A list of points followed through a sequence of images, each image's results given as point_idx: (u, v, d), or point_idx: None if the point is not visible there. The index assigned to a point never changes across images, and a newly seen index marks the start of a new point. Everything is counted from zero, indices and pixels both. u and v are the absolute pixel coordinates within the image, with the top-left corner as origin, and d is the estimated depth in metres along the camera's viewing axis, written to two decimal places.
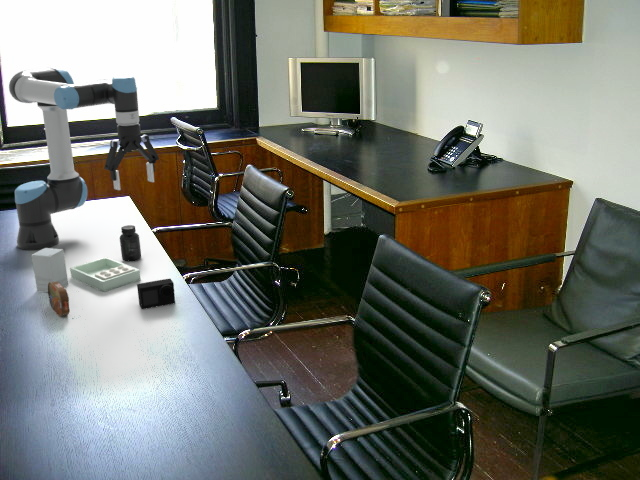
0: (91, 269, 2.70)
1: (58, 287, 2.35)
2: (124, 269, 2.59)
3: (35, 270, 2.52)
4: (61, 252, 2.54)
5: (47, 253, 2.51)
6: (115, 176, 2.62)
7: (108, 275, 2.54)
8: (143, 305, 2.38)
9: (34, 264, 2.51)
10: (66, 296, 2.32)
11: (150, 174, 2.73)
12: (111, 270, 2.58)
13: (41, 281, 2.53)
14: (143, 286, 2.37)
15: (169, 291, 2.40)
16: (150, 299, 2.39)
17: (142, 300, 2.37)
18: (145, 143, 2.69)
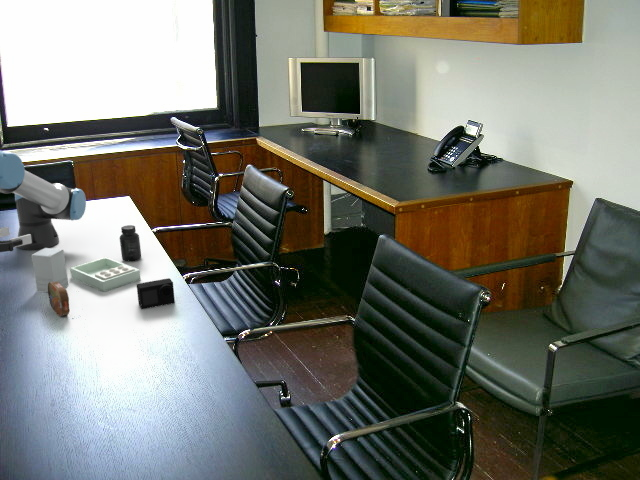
0: (91, 269, 2.70)
1: (58, 287, 2.35)
2: (124, 269, 2.59)
3: (35, 270, 2.52)
4: (61, 252, 2.54)
5: (47, 253, 2.51)
6: None
7: (108, 275, 2.54)
8: (143, 305, 2.38)
9: (34, 264, 2.51)
10: (66, 296, 2.32)
11: None
12: (111, 270, 2.58)
13: (41, 281, 2.53)
14: (143, 286, 2.37)
15: (169, 291, 2.40)
16: (150, 299, 2.39)
17: (142, 300, 2.37)
18: None
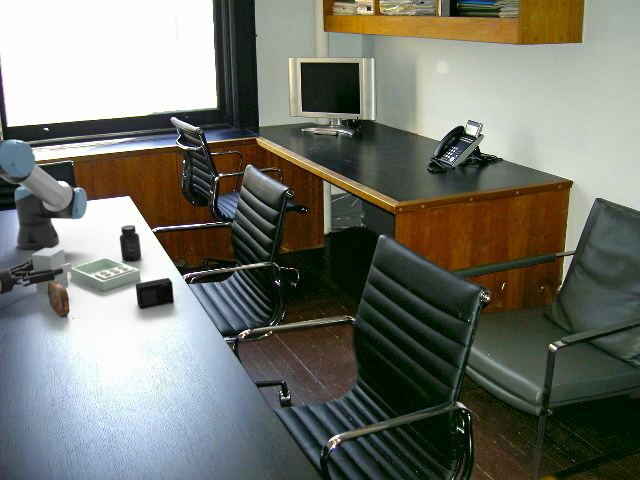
0: (91, 269, 2.70)
1: (58, 287, 2.35)
2: (124, 269, 2.59)
3: (35, 270, 2.52)
4: (61, 252, 2.54)
5: (47, 253, 2.51)
6: None
7: (108, 275, 2.54)
8: (142, 305, 2.38)
9: (34, 264, 2.51)
10: (66, 296, 2.32)
11: None
12: (111, 270, 2.58)
13: None
14: (142, 286, 2.38)
15: (168, 290, 2.41)
16: (149, 299, 2.39)
17: (141, 300, 2.38)
18: None
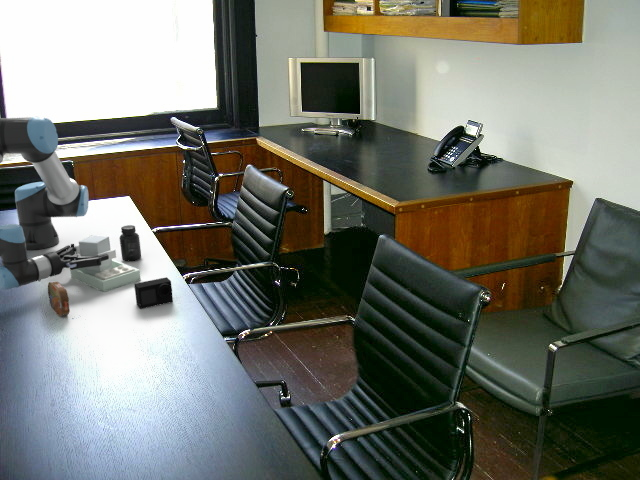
0: None
1: (58, 287, 2.35)
2: (124, 269, 2.59)
3: None
4: (107, 239, 2.63)
5: (94, 240, 2.60)
6: None
7: (108, 275, 2.54)
8: (141, 304, 2.38)
9: (81, 250, 2.61)
10: (66, 296, 2.32)
11: None
12: (111, 270, 2.58)
13: (88, 267, 2.62)
14: (141, 285, 2.38)
15: (167, 290, 2.41)
16: (148, 298, 2.39)
17: (140, 299, 2.38)
18: None
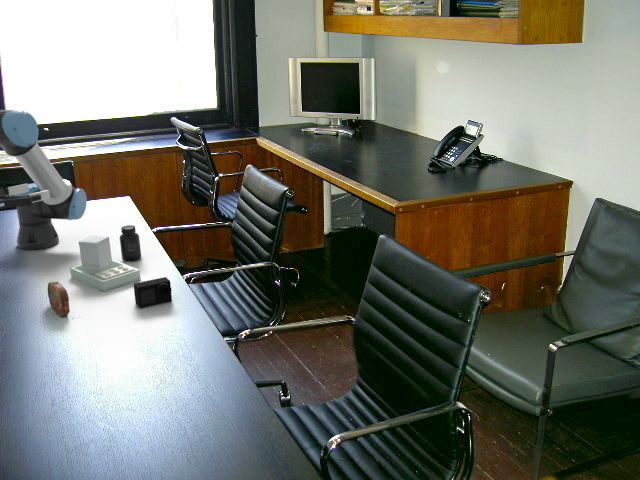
0: None
1: (58, 287, 2.35)
2: (124, 269, 2.59)
3: (82, 256, 2.62)
4: (107, 239, 2.63)
5: (94, 240, 2.60)
6: None
7: (108, 275, 2.54)
8: (141, 304, 2.39)
9: (81, 250, 2.61)
10: (66, 296, 2.32)
11: None
12: (111, 270, 2.58)
13: (88, 267, 2.62)
14: (140, 285, 2.38)
15: (166, 289, 2.41)
16: (148, 298, 2.39)
17: (140, 299, 2.38)
18: None
